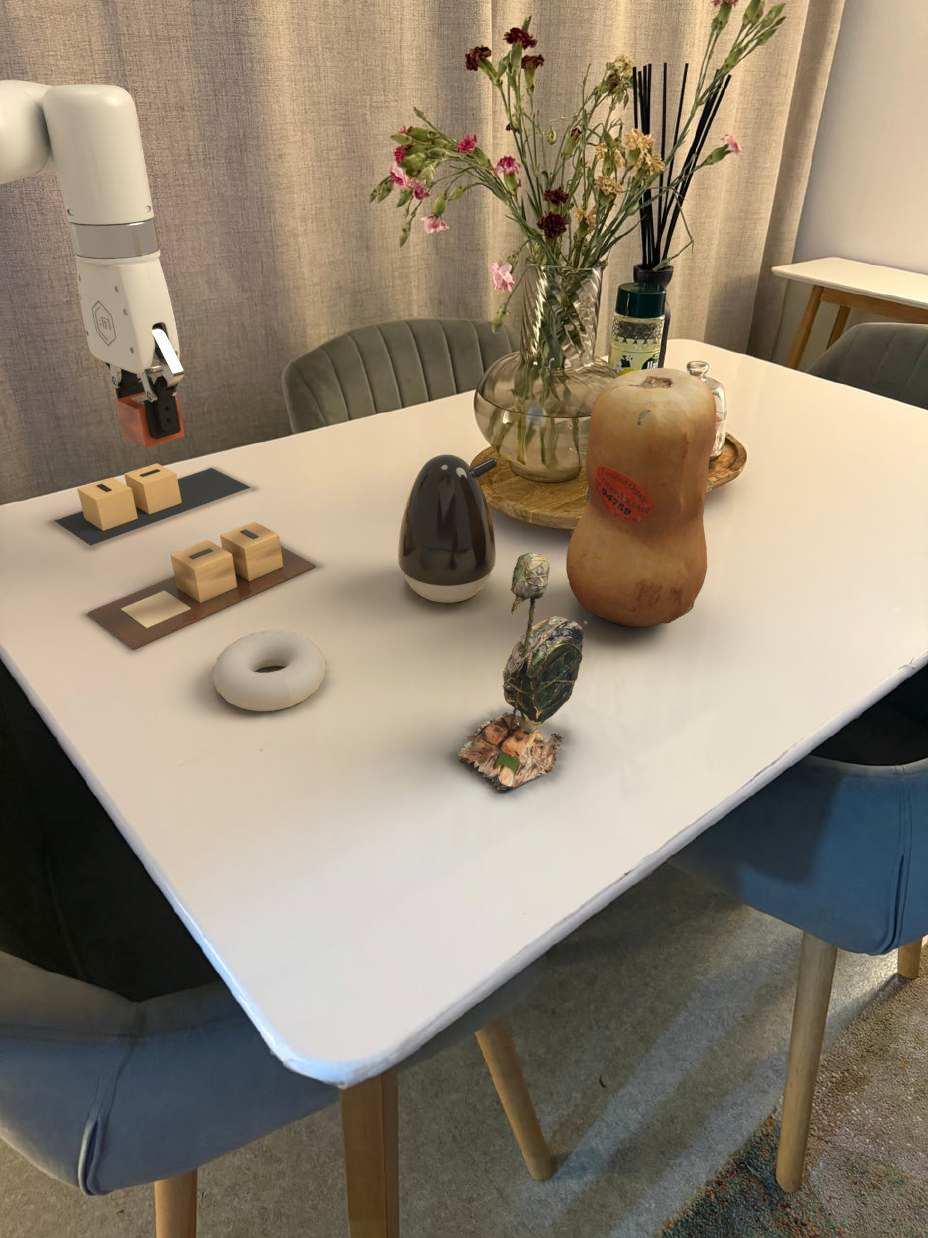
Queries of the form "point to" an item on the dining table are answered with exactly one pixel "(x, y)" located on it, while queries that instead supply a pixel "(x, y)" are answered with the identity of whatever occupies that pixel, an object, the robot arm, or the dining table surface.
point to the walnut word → (203, 584)
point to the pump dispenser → (447, 531)
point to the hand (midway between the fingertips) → (151, 426)
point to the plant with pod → (529, 688)
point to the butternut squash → (644, 499)
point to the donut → (271, 688)
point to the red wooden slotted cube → (140, 421)
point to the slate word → (143, 500)
